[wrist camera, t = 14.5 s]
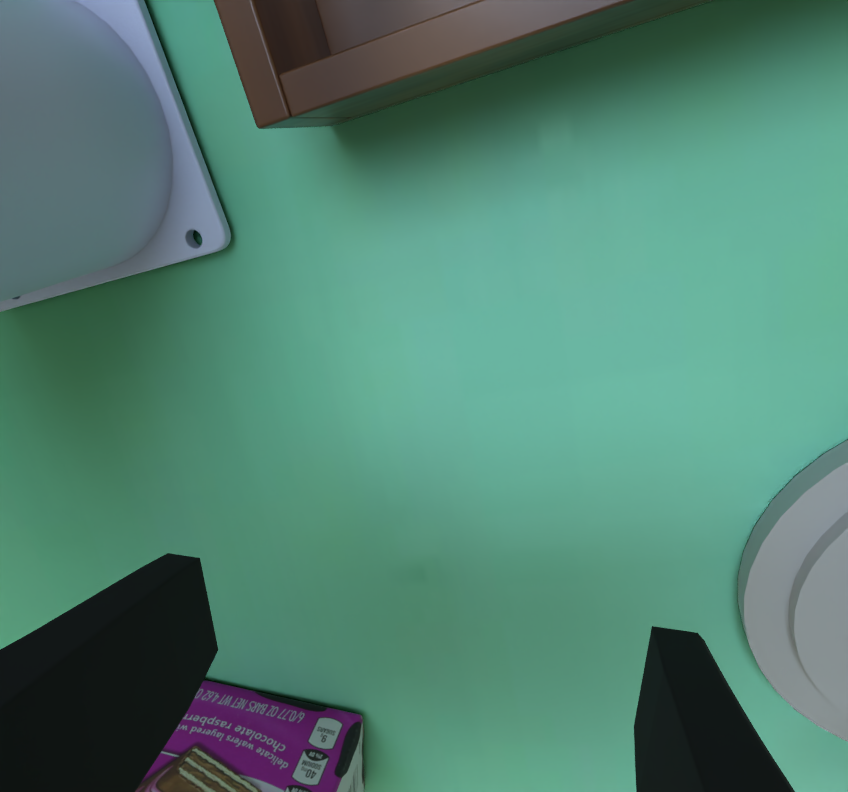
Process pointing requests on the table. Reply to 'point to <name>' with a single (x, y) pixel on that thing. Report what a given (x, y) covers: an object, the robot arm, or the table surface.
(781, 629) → the monster figurine
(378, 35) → the bin
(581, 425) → the table surface
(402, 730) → the table surface
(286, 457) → the table surface
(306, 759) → the candy bar box
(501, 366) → the table surface
